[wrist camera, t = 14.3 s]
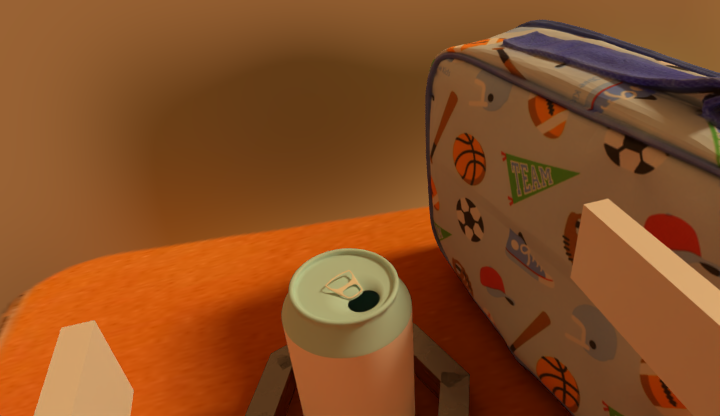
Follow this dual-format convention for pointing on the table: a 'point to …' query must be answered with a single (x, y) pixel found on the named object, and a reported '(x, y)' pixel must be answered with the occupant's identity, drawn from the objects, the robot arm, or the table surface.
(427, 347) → the ring
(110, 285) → the table surface
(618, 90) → the lunch box
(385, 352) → the can
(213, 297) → the table surface
